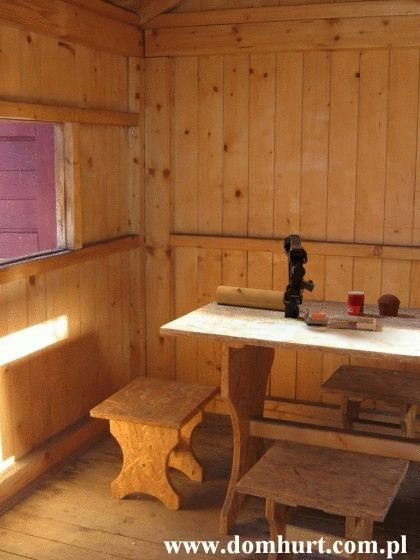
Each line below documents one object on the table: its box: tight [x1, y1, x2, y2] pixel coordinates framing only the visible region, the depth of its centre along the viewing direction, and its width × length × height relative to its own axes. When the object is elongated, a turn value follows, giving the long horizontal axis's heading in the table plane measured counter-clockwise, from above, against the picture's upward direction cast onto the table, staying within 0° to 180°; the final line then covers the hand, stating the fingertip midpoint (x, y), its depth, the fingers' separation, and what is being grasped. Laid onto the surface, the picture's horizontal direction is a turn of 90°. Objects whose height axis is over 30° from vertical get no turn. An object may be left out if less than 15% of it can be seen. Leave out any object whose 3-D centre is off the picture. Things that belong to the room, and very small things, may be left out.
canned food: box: [346, 290, 365, 317], centre depth 398 cm, size 8×8×11 cm
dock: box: [328, 316, 377, 332], centre depth 369 cm, size 21×14×4 cm, turn 78°
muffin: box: [377, 293, 401, 317], centre depth 398 cm, size 12×11×10 cm
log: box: [215, 285, 286, 312], centre depth 412 cm, size 38×10×10 cm, turn 64°
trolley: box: [304, 308, 329, 327], centre depth 372 cm, size 10×11×6 cm
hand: (295, 307), depth 374 cm, fingers open, 9 cm apart
